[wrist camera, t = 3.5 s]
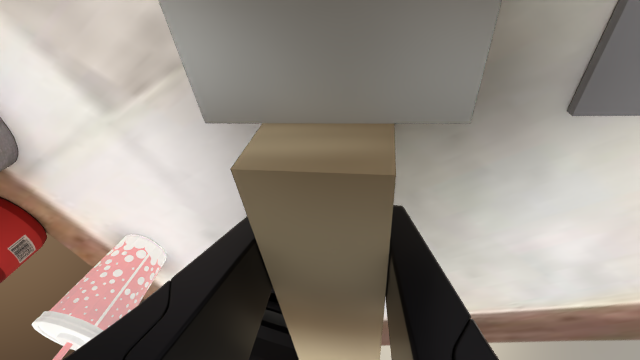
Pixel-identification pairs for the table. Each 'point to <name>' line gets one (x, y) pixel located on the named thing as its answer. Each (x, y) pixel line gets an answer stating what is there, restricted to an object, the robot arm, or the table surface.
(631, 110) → the mat
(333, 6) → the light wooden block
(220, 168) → the table surface
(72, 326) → the beverage cup
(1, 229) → the canned food
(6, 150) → the pillar candle
